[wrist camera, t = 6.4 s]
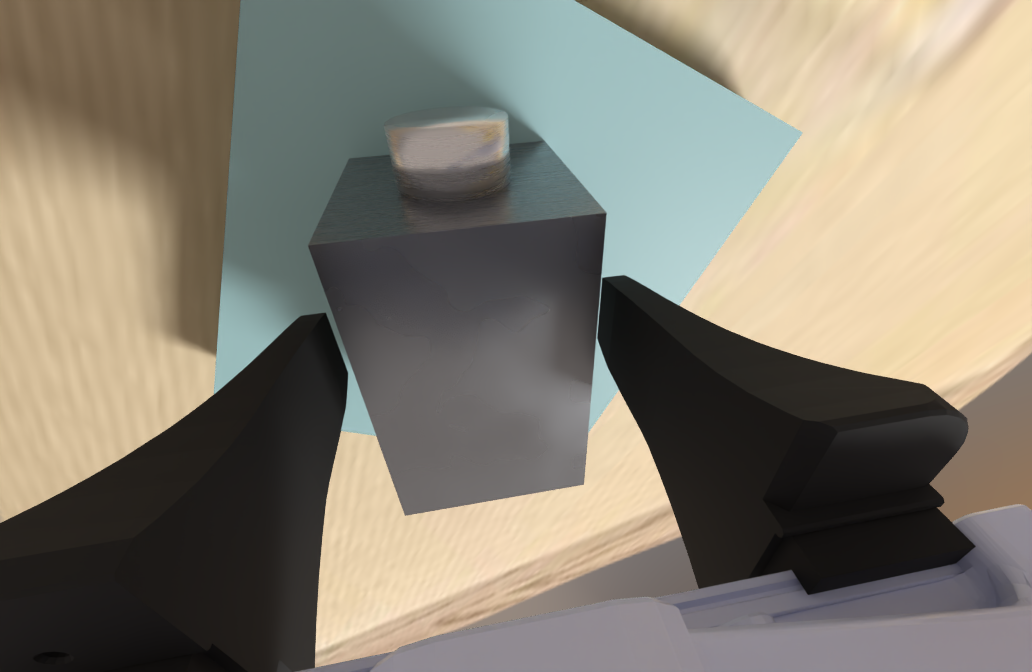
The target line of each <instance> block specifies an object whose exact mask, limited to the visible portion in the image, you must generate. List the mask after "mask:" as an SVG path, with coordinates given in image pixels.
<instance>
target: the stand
mask: <svg viewBox="0 0 1032 672" xmlns="http://www.w3.org/2000/svg"><path fill="white" fill-rule="evenodd" d="M455 106H477V107H489V108H495V109H499V110H502V111H504V112H506V113H507V114H508V128H509V144H514V143H525V142H537V141H545V142H546V143H547V144H548V145H549V146H550V148H551V149H552V150H553V151H554V152H555V153H556V154H557V156H558V157H559V158H560V159H561V160H562V161H563V163H564V164H565V165H566V166H567V167H568V168H569V170H570V171H571V172H572V173H573V174H574V175H575V177H576V178H577V179H578V180H579V181H580V182H581V183H582V185H583V186H584V187H585V188H586V189H587V190H588V192H589V193H590V194H591V195H592V196H593V197H594V199H595V200H596V201H597V202H598V203H599V204H600V206H601V207H602V208H603V209H604V210H605V211H606V213H607V216H606V228H605V239H604V251H603V263H602V275H601V287H602V278H604V277H612V276H620V275H625V276H628V277H630V278H632V279H633V280H635V281H637V282H639V283H641V284H642V285H644V286H646V287H648V288H649V289H651V290H653V291H654V292H656V293H658V294H659V295H661V296H663V297H665V298H666V299H668V300H670V301H672V302H673V303H675V304H677V305H680V304H681V302H682V301H683V300H684V298H685V297H686V295H687V294H688V293H689V291H690V290H691V288H692V287H693V286H694V284H695V283H696V281H697V280H698V279H699V277H700V276H701V274H702V273H703V272H704V270H705V269H706V267H707V266H708V265H709V263H710V262H711V260H712V259H713V258H714V256H715V255H716V253H717V252H718V251H719V249H720V248H721V246H722V245H723V244H724V242H725V241H726V239H727V238H728V237H729V235H730V234H731V232H732V231H733V230H734V228H735V227H736V225H737V224H738V223H739V221H740V220H741V218H742V217H743V216H744V214H745V213H746V211H747V210H748V209H749V207H750V206H751V205H752V203H753V202H754V200H755V199H756V198H757V196H758V195H759V193H760V192H761V191H762V189H763V188H764V186H765V185H766V184H767V182H768V181H769V179H770V178H771V177H772V175H773V174H774V172H775V171H776V170H777V168H778V167H779V165H780V164H781V163H782V161H783V160H784V158H785V157H786V156H787V154H788V153H789V151H790V150H791V149H792V147H793V146H794V144H795V143H796V142H797V140H798V139H799V137H800V136H801V135H802V132H801V131H799V130H797V129H796V128H794V127H792V126H790V125H789V124H787V123H785V122H783V121H782V120H780V119H778V118H777V117H775V116H773V115H771V114H770V113H768V112H766V111H764V110H763V109H761V108H759V107H758V106H756V105H754V104H752V103H751V102H749V101H747V100H745V99H744V98H742V97H740V96H739V95H737V94H735V93H733V92H732V91H730V90H728V89H727V88H725V87H723V86H721V85H720V84H718V83H716V82H714V81H713V80H711V79H709V78H708V77H706V76H704V75H702V74H701V73H699V72H697V71H695V70H694V69H692V68H690V67H689V66H687V65H685V64H683V63H682V62H680V61H678V60H676V59H675V58H673V57H671V56H670V55H668V54H666V53H664V52H663V51H661V50H659V49H657V48H656V47H654V46H652V45H651V44H649V43H647V42H645V41H644V40H642V39H640V38H639V37H637V36H635V35H633V34H632V33H630V32H628V31H626V30H625V29H623V28H621V27H620V26H618V25H616V24H614V23H613V22H611V21H609V20H607V19H606V18H604V17H602V16H601V15H599V14H597V13H595V12H594V11H592V10H590V9H588V8H587V7H585V6H583V5H582V4H580V3H578V2H576V1H575V0H240V15H239V30H238V45H237V59H236V74H235V89H234V104H233V119H232V133H231V148H230V163H229V178H228V192H227V207H226V222H225V237H224V251H223V266H222V281H221V296H220V311H219V325H218V340H217V355H216V370H215V384H214V394H215V393H216V392H218V391H219V390H220V389H221V388H222V387H223V386H224V385H226V384H227V383H228V382H229V381H230V380H231V379H233V378H234V377H235V376H236V375H237V374H238V373H239V372H241V371H242V370H243V369H244V368H245V367H246V366H247V365H249V364H250V363H251V362H252V361H253V360H254V359H255V358H256V357H257V356H258V355H259V354H260V353H261V352H262V351H263V350H264V349H265V348H267V347H268V346H269V345H270V344H271V343H272V342H273V341H274V340H275V339H276V338H277V337H278V336H279V335H280V334H281V333H282V332H283V331H284V330H285V329H286V328H287V327H288V326H289V325H291V324H292V323H293V322H294V321H295V320H296V319H297V318H299V317H300V316H302V315H310V314H318V313H326V314H327V317H328V320H329V322H330V325H331V328H332V330H333V333H334V336H335V338H336V341H337V344H338V347H339V349H340V352H341V355H342V357H343V360H344V363H345V365H346V368H347V371H348V389H347V402H346V409H345V414H344V419H343V424H342V428H341V431H346V432H353V433H360V434H367V435H374V436H376V433H375V431H374V428H373V425H372V422H371V420H370V417H369V414H368V411H367V408H366V406H365V403H364V400H363V397H362V395H361V392H360V389H359V386H358V383H357V381H356V378H355V375H354V372H353V370H352V367H351V364H350V361H349V359H348V356H347V353H346V350H345V347H344V345H343V342H342V339H341V336H340V334H339V331H338V328H337V325H336V322H335V320H334V317H333V314H332V311H331V309H330V306H329V303H328V300H327V298H326V295H325V292H324V289H323V286H322V284H321V281H320V278H319V275H318V273H317V270H316V267H315V264H314V261H313V259H312V256H311V253H310V250H309V248H308V244H309V242H310V240H311V238H312V235H313V233H314V231H315V229H316V227H317V225H318V223H319V221H320V219H321V216H322V214H323V212H324V210H325V208H326V206H327V204H328V202H329V200H330V197H331V195H332V193H333V191H334V189H335V187H336V185H337V183H338V181H339V178H340V176H341V174H342V172H343V170H344V168H345V166H346V164H347V162H348V159H349V158H360V157H371V156H382V155H390V153H389V148H388V143H387V139H386V134H385V129H384V123H385V122H386V121H387V120H389V119H390V118H393V117H395V116H398V115H401V114H404V113H408V112H413V111H418V110H424V109H431V108H440V107H455ZM601 287H600V299H601ZM600 299H599V311H600ZM599 311H598V322H597V334H598V323H599ZM597 334H596V346H595V358H594V370H593V382H592V394H591V405H590V417H589V429H588V432H589V431H590V429H591V428H592V427H593V425H594V424H595V422H596V421H597V420H598V418H599V417H600V416H601V414H602V413H603V411H604V410H605V409H606V407H607V406H608V404H609V403H610V402H611V400H612V399H613V397H614V396H615V395H616V393H617V392H618V390H619V389H618V387H617V385H616V383H615V381H614V379H613V377H612V375H611V373H610V371H609V369H608V367H607V365H606V362H605V359H604V357H603V354H602V351H601V348H600V345H599V342H598V339H597Z"/></svg>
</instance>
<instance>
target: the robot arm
mask: <svg viewBox="0 0 1032 672" xmlns="http://www.w3.org/2000/svg"><path fill="white" fill-rule="evenodd" d="M597 339H598V342H599V345H600V348H601V351H602V354H603V357H604V359H605V362H606V365H607V367H608V369H609V371H610V373H611V375H612V377H613V379H614V381H615V383H616V385H617V387H618V389H619V391H620V392H621V394H622V396H623V398H624V400H625V402H626V404H627V405H628V407H629V409H630V411H631V413H632V415H633V417H634V419H635V420H636V422H637V424H638V426H639V428H640V430H641V432H642V434H643V436H644V438H645V440H646V442H647V444H648V446H649V449H650V451H651V454H652V456H653V459H654V461H655V464H656V467H657V469H658V472H659V474H660V477H661V479H662V482H663V485H664V487H665V490H666V493H667V495H668V498H669V501H670V503H671V506H672V509H673V512H674V514H675V517H676V520H677V523H678V526H679V529H680V532H681V535H682V538H683V541H684V544H685V547H686V550H687V553H688V556H689V558H690V562H691V565H692V569H693V572H694V575H695V578H696V581H697V584H698V587H699V589H696V590H691V591H686V592H682V593H676V594H672V595H667V596H662V597H657V598H650V597H637V598H626V599H614V600H609V601H604V602H599V603H594V604H590V605H584V606H580V607H575V608H570V609H565V610H560V611H555V612H550V613H545V614H541V615H535V616H530V617H526V618H521V619H516V620H511V621H506V622H501V623H496V624H492V625H486V626H481V627H477V628H472V629H467V630H462V631H457V632H452V633H447V634H442V635H437V636H434V637H430V638H427V639H424V640H421V641H418V642H415V643H412V644H408V645H405V646H402V647H399V648H398V649H397V650H395V651H394V652H389V653H384V654H380V655H375V656H370V657H365V658H360V659H355V660H350V661H346V662H341V663H336V664H331V665H326V666H321V667H316V668H315V643H316V617H317V600H318V583H319V569H320V557H321V545H322V534H323V525H324V516H325V506H326V498H327V492H328V487H329V481H330V477H331V473H332V468H333V464H334V459H335V455H336V450H337V446H338V442H339V437H340V433H341V428H342V424H343V419H344V414H345V409H346V402H347V389H348V371H347V368H346V365H345V363H344V360H343V357H342V355H341V352H340V349H339V347H338V344H337V341H336V338H335V336H334V333H333V330H332V328H331V325H330V322H329V320H328V317H327V314H326V313H318V314H310V315H302V316H300V317H299V318H297V319H296V320H295V321H294V322H293V323H292V324H291V325H289V326H288V327H287V328H286V329H285V330H284V331H283V332H282V333H281V334H280V335H279V336H278V337H277V338H276V339H275V340H274V341H273V342H272V343H271V344H270V345H269V346H268V347H267V348H265V349H264V350H263V351H262V352H261V353H260V354H259V355H258V356H257V357H256V358H255V359H254V360H253V361H252V362H251V363H250V364H249V365H247V366H246V367H245V368H244V369H243V370H242V371H241V372H239V373H238V374H237V375H236V376H235V377H234V378H233V379H231V380H230V381H229V382H228V383H227V384H226V385H224V386H223V387H222V388H221V389H220V390H219V391H218V392H216V393H215V394H214V395H213V396H212V397H210V398H209V399H208V400H207V401H205V402H204V403H203V404H201V405H200V406H199V407H197V408H196V409H195V410H193V411H192V412H191V413H189V414H188V415H187V416H185V417H184V418H182V419H181V420H180V421H178V422H177V423H176V424H174V425H173V426H171V427H170V428H168V429H167V430H166V431H164V432H162V433H161V434H159V435H158V436H156V437H155V438H153V439H152V440H150V441H148V442H147V443H145V444H144V445H142V446H141V447H139V448H137V449H136V450H134V451H133V452H131V453H130V454H128V455H127V456H125V457H123V458H122V459H120V460H119V461H117V462H115V463H113V464H112V465H110V466H108V467H107V468H105V469H103V470H101V471H100V472H98V473H96V474H94V475H93V476H91V477H89V478H87V479H86V480H84V481H82V482H80V483H78V484H76V485H74V486H73V487H71V488H69V489H67V490H65V491H63V492H62V493H60V494H58V495H56V496H54V497H52V498H50V499H48V500H46V501H44V502H43V503H41V504H39V505H37V506H34V507H32V508H30V509H28V510H26V511H24V512H22V513H20V514H18V515H16V516H14V517H12V518H10V519H8V520H6V521H4V522H2V523H0V672H1032V510H1030V509H1029V508H1028V507H1027V506H1026V505H1020V504H1016V505H1011V506H1006V507H1001V508H996V509H991V510H986V511H981V512H976V513H972V514H968V515H965V516H963V517H961V518H959V519H957V520H955V521H953V522H951V521H950V520H949V519H948V518H947V517H946V516H945V515H944V514H943V513H942V512H940V510H939V509H938V508H937V507H941V506H942V505H943V503H944V499H943V497H942V496H941V495H940V494H939V493H938V492H937V491H936V490H935V489H934V488H933V487H932V486H930V484H929V483H930V482H931V481H932V480H933V479H934V478H935V477H936V475H937V474H938V473H939V472H940V471H941V470H942V469H943V468H944V466H945V465H946V464H947V463H948V462H949V461H950V460H951V459H952V457H953V456H954V455H955V454H956V453H957V451H958V450H959V449H960V447H961V446H962V445H963V443H964V441H965V439H966V436H967V433H968V422H967V418H966V417H965V416H964V415H963V414H961V413H960V412H959V411H958V410H957V409H955V408H954V407H953V406H951V405H950V404H949V403H948V402H946V401H945V400H944V399H943V398H941V397H940V396H939V395H938V394H936V393H935V392H934V391H932V390H931V389H930V388H929V387H927V386H926V385H924V384H920V383H914V382H909V381H904V380H898V379H893V378H888V377H883V376H877V375H872V374H867V373H862V372H857V371H853V370H849V369H845V368H841V367H837V366H833V365H829V364H825V363H821V362H817V361H814V360H810V359H807V358H803V357H800V356H797V355H794V354H791V353H787V352H784V351H781V350H778V349H775V348H772V347H769V346H766V345H764V344H761V343H758V342H756V341H753V340H751V339H748V338H746V337H743V336H741V335H738V334H736V333H733V332H731V331H729V330H726V329H724V328H722V327H720V326H718V325H716V324H713V323H711V322H709V321H707V320H705V319H703V318H701V317H699V316H697V315H695V314H694V313H692V312H690V311H688V310H686V309H684V308H682V307H681V306H679V305H677V304H675V303H673V302H672V301H670V300H668V299H666V298H665V297H663V296H661V295H659V294H658V293H656V292H654V291H653V290H651V289H649V288H648V287H646V286H644V285H642V284H641V283H639V282H637V281H635V280H633V279H632V278H630V277H628V276H625V275H620V276H612V277H604V278H602V287H601V299H600V311H599V323H598V334H597Z"/></svg>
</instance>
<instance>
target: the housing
mask: <svg viewBox="0 0 1032 672" xmlns="http://www.w3.org/2000/svg"><path fill="white" fill-rule="evenodd" d="M384 129H385V134H386V139H387V143H388V148H389V153H390V155H382V156H371V157H360V158H349V159H348V162H347V164H346V166H345V168H344V170H343V172H342V174H341V176H340V178H339V181H338V183H337V185H336V187H335V189H334V191H333V193H332V195H331V197H330V200H329V202H328V204H327V206H326V208H325V210H324V212H323V214H322V216H321V219H320V221H319V223H318V225H317V227H316V229H315V231H314V233H313V235H312V238H311V240H310V242H309V244H308V248H309V250H310V253H311V256H312V259H313V261H314V264H315V267H316V270H317V273H318V275H319V278H320V281H321V284H322V286H323V289H324V292H325V295H326V298H327V300H328V303H329V306H330V309H331V311H332V314H333V317H334V320H335V322H336V325H337V328H338V331H339V334H340V336H341V339H342V342H343V345H344V347H345V350H346V353H347V356H348V359H349V361H350V364H351V367H352V370H353V372H354V375H355V378H356V381H357V383H358V386H359V389H360V392H361V395H362V397H363V400H364V403H365V406H366V408H367V411H368V414H369V417H370V420H371V422H372V425H373V428H374V431H375V433H376V436H377V439H378V442H379V444H380V447H381V450H382V453H383V456H384V458H385V461H386V464H387V467H388V469H389V472H390V475H391V478H392V481H393V483H394V486H395V489H396V492H397V494H398V497H399V500H400V503H401V505H402V508H403V511H404V514H405V516H406V515H412V514H417V513H423V512H429V511H435V510H440V509H446V508H452V507H458V506H463V505H469V504H475V503H480V502H486V501H492V500H498V499H503V498H509V497H515V496H521V495H526V494H532V493H538V492H544V491H549V490H555V489H561V488H567V487H572V486H578V485H584V477H585V465H586V453H587V441H588V429H589V417H590V405H591V394H592V382H593V370H594V358H595V346H596V334H597V322H598V311H599V299H600V287H601V275H602V263H603V251H604V239H605V228H606V216H607V213H606V211H605V210H604V209H603V208H602V207H601V206H600V204H599V203H598V202H597V201H596V200H595V199H594V197H593V196H592V195H591V194H590V193H589V192H588V190H587V189H586V188H585V187H584V186H583V185H582V183H581V182H580V181H579V180H578V179H577V178H576V177H575V175H574V174H573V173H572V172H571V171H570V170H569V168H568V167H567V166H566V165H565V164H564V163H563V161H562V160H561V159H560V158H559V157H558V156H557V154H556V153H555V152H554V151H553V150H552V149H551V148H550V146H549V145H548V144H547V143H546V142H545V141H537V142H525V143H514V144H509V128H508V114H507V113H506V112H504V111H502V110H499V109H495V108H489V107H477V106H455V107H440V108H431V109H424V110H418V111H413V112H408V113H404V114H401V115H398V116H395V117H393V118H390V119H389V120H387V121H386V122H385V123H384Z"/></svg>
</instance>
